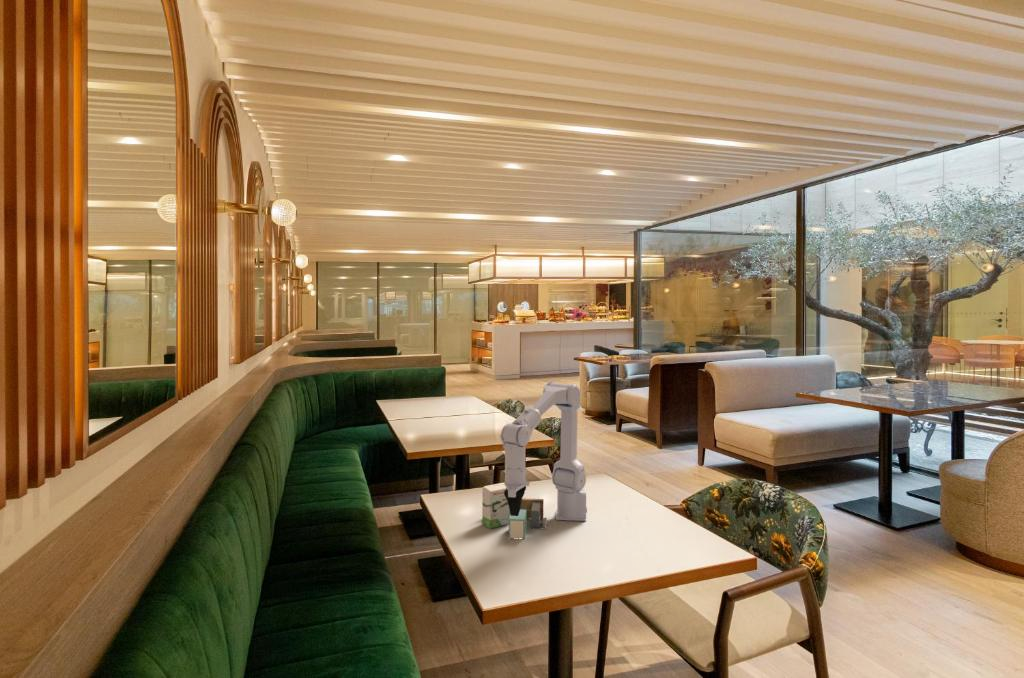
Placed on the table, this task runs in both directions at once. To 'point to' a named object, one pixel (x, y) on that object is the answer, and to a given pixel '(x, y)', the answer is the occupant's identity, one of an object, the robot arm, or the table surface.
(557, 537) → the table surface
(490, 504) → the ink box
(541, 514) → the back board
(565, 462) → the robot arm
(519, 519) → the book
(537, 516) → the bookend
